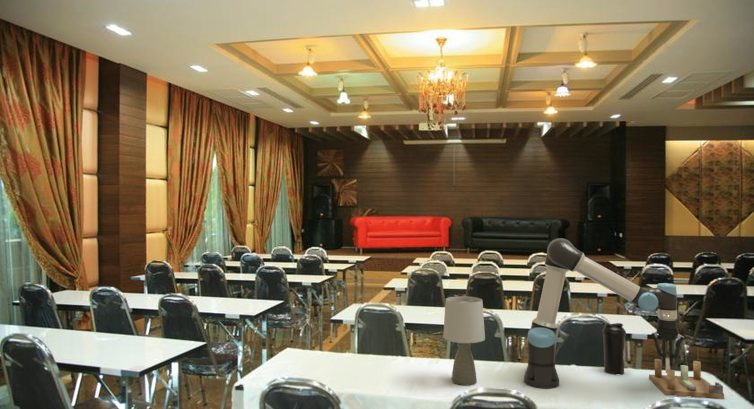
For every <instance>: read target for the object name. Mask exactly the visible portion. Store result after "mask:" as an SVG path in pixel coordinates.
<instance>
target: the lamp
mask: <svg viewBox="0 0 754 409" xmlns="http://www.w3.org/2000/svg"><path fill="white" fill-rule="evenodd" d="M444 304H445V305H444V320H443V333H442V334H443V335H442V336H443V340H446V341H448V342H451V343H457V347H458V348H457V351H456V353H455V357H454V360H453V367H452V370H451V371H452V372H451V382H452V383H453V384H455V385H459V386H472V385H475V384H476V383H477V382H478V379H477V371H476V365H475V360H474V357H473V353H472V351H471V346H472V344H477V343H482V342H484V341H485V340H486V334H485V333H486V332H485V320H484V319H485V318H484V317H485V316H484V304H483V299H482V298H480V297H476V296H449V297H447V298H445V302H444Z"/></svg>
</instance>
